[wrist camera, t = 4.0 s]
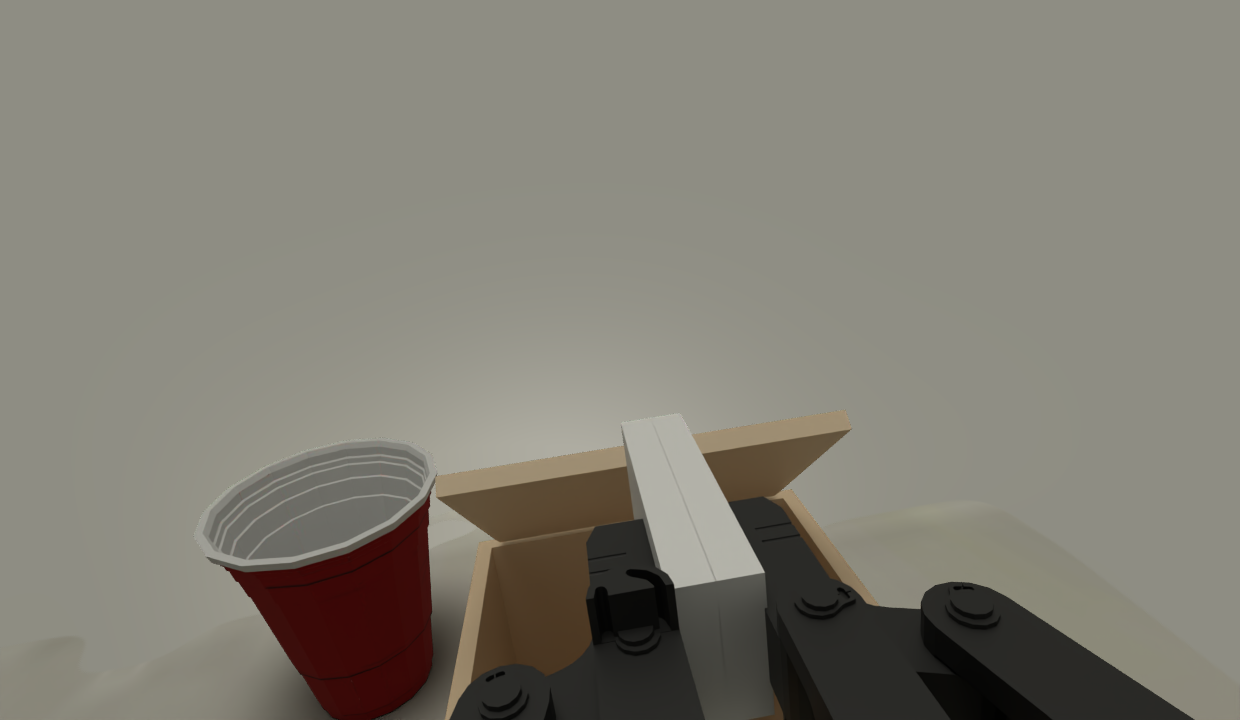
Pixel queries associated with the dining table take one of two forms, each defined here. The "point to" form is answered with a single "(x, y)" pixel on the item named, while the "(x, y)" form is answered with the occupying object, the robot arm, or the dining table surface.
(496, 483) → the flap
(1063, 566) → the dining table surface
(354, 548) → the plastic cup
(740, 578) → the robot arm
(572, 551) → the carton
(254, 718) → the dining table surface
